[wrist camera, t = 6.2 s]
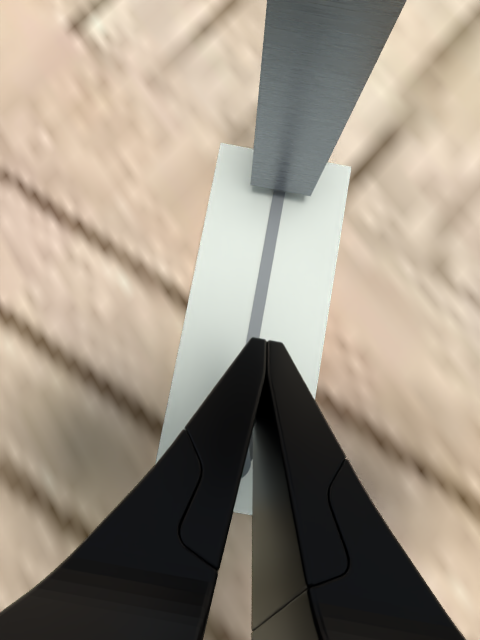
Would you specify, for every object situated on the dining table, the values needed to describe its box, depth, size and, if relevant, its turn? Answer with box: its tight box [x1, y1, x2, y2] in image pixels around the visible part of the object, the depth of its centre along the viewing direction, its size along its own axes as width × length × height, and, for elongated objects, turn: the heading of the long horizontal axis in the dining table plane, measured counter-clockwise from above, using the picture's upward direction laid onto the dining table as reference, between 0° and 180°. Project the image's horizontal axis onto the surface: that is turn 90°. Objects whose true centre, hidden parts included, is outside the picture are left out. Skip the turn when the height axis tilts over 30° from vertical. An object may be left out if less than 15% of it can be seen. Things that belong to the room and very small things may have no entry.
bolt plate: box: [155, 143, 351, 515], centre depth 15 cm, size 18×7×4 cm, turn 170°
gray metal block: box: [250, 0, 406, 196], centre depth 10 cm, size 3×3×11 cm
